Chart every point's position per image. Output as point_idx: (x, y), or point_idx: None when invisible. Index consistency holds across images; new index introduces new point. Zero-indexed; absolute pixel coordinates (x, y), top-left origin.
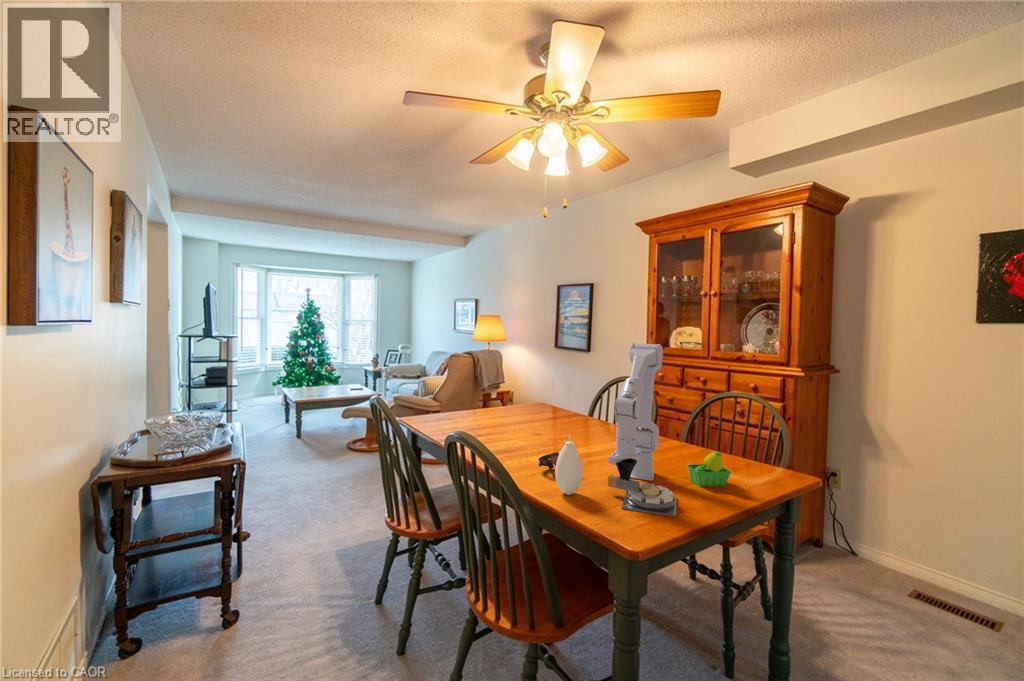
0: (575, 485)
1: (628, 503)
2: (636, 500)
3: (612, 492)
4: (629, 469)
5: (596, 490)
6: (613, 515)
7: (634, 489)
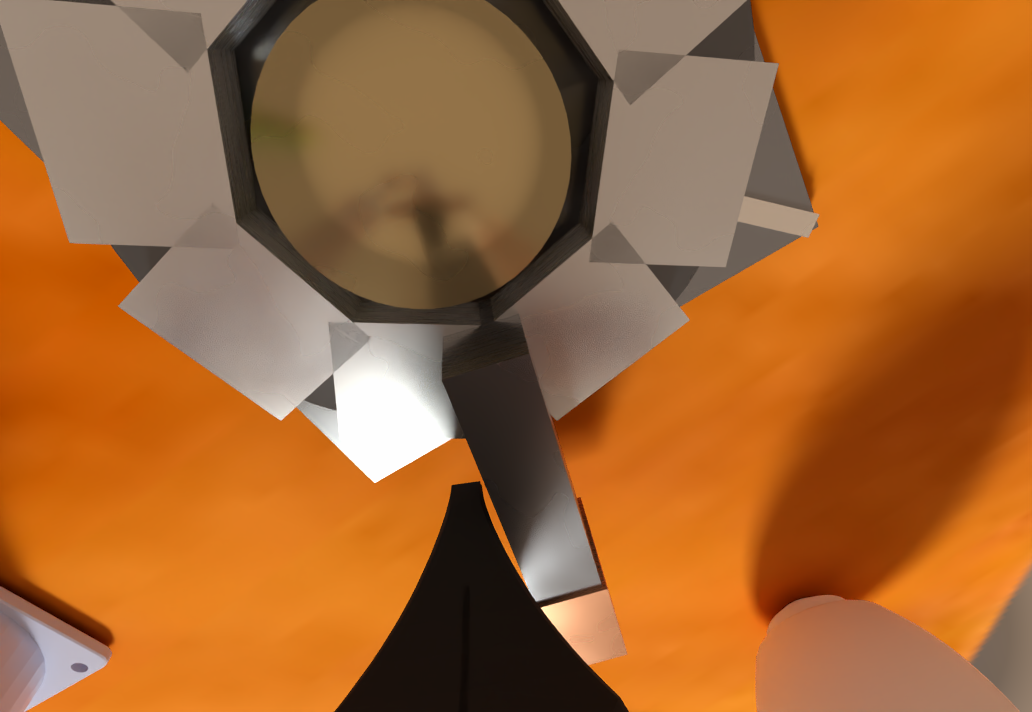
0: (916, 639)
1: None
2: None
3: None
4: (520, 638)
5: None
6: (1004, 164)
7: (564, 328)
